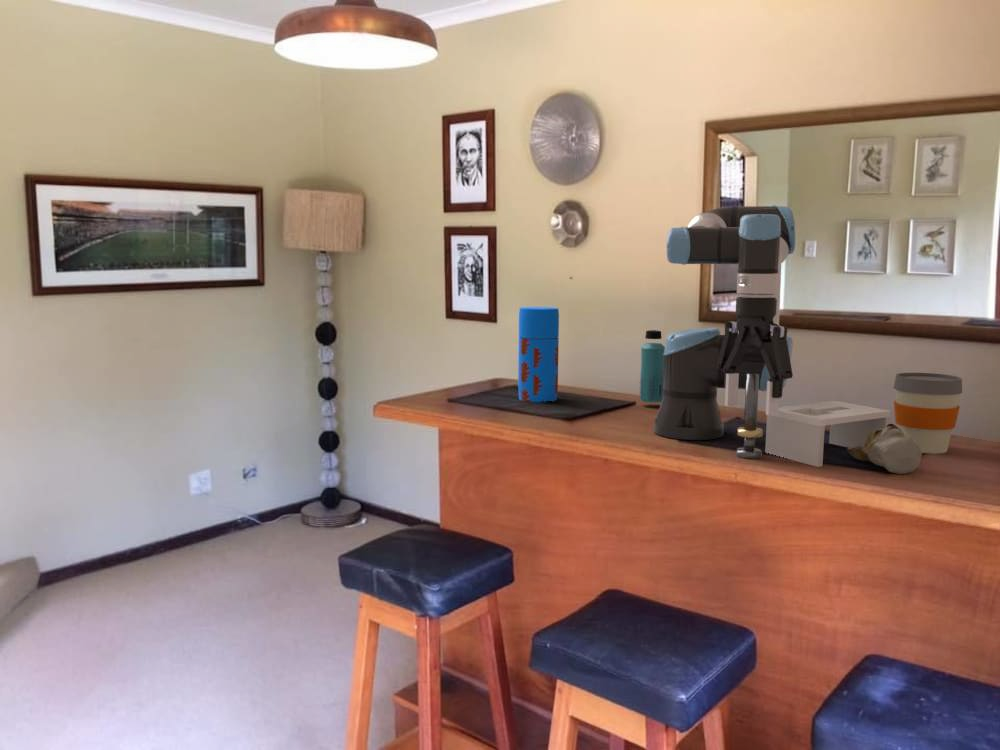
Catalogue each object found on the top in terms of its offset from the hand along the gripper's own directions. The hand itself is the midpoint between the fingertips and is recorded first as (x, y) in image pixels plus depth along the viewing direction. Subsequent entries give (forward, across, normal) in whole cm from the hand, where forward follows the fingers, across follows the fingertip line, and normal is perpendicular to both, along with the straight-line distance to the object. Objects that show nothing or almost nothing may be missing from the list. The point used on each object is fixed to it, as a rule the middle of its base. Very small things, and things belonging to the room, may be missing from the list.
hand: (751, 409), depth 163 cm
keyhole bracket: (+9, +6, +15) cm, 19 cm away
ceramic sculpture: (+10, +18, +17) cm, 27 cm away
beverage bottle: (+9, -53, +19) cm, 57 cm away
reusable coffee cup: (+9, +12, +37) cm, 40 cm away
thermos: (+9, -76, -2) cm, 77 cm away
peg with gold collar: (+9, 0, 0) cm, 9 cm away
